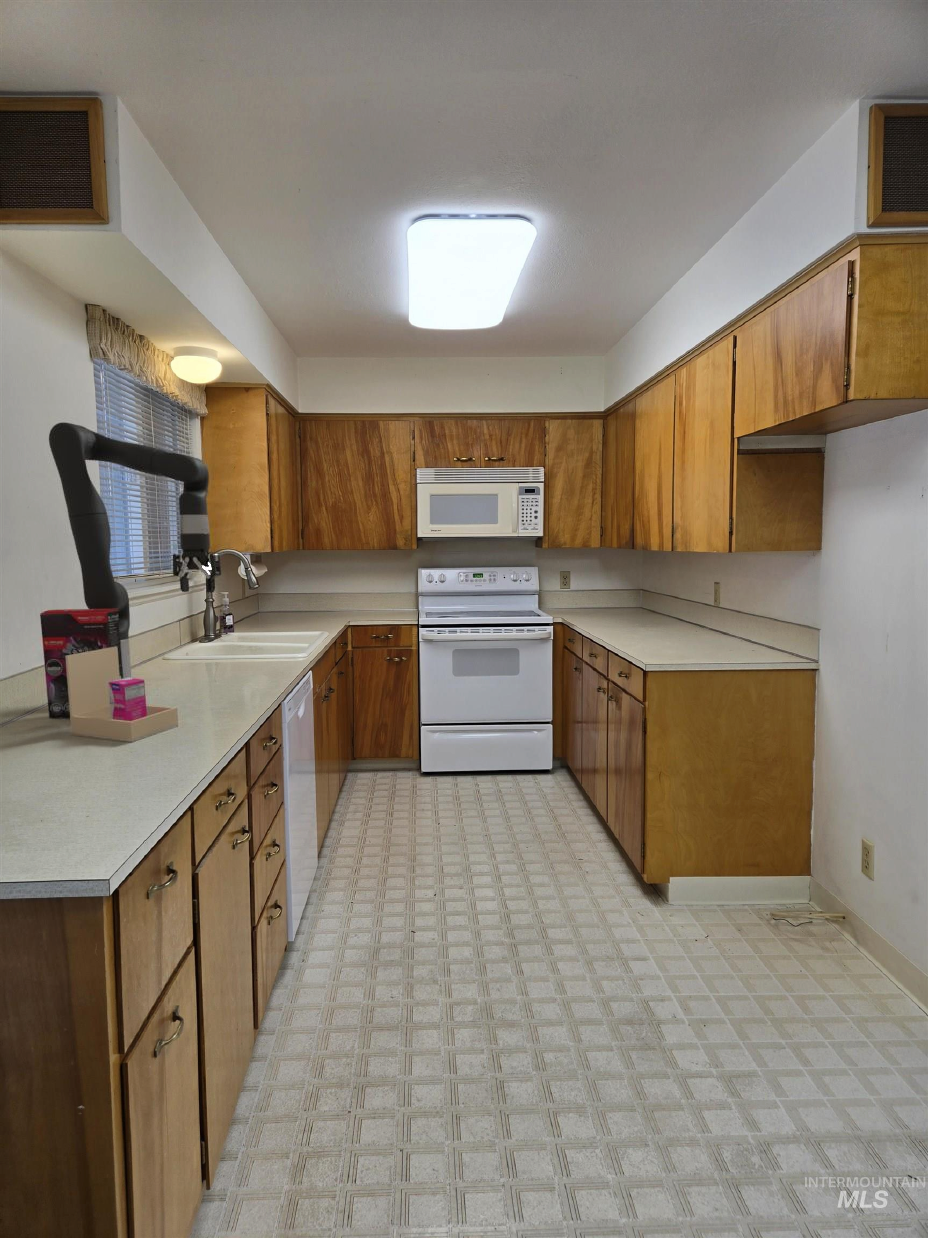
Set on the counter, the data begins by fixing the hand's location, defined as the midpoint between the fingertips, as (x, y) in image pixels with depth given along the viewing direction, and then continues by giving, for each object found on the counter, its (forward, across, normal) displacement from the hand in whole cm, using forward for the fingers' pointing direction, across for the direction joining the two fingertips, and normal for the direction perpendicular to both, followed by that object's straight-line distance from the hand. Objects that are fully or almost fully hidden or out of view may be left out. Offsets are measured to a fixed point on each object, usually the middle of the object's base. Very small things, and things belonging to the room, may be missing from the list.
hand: (198, 592), depth 191 cm
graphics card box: (+30, -17, -23) cm, 42 cm away
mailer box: (+30, +4, -31) cm, 43 cm away
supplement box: (+30, +5, -31) cm, 43 cm away
